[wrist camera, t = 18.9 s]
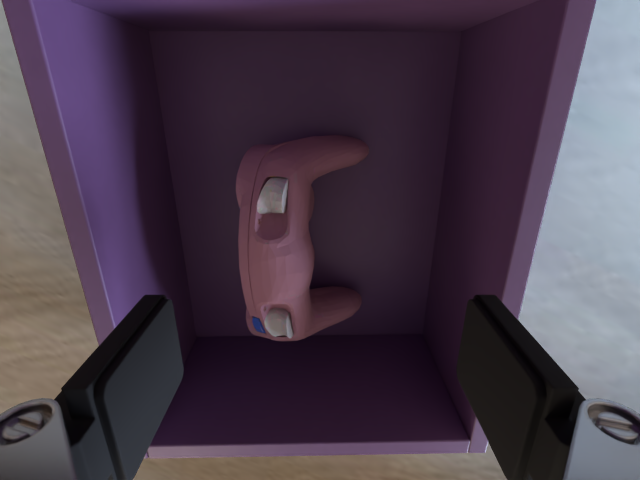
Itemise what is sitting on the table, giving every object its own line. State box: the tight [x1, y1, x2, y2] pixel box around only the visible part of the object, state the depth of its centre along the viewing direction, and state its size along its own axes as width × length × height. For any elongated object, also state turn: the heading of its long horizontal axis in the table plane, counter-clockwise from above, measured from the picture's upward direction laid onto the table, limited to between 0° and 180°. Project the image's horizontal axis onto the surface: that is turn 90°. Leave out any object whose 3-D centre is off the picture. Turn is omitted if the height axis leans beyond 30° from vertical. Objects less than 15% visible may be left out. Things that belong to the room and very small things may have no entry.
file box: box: [2, 0, 596, 458], centre depth 16 cm, size 18×16×8 cm
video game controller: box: [236, 135, 369, 341], centre depth 17 cm, size 10×5×7 cm, turn 0°
